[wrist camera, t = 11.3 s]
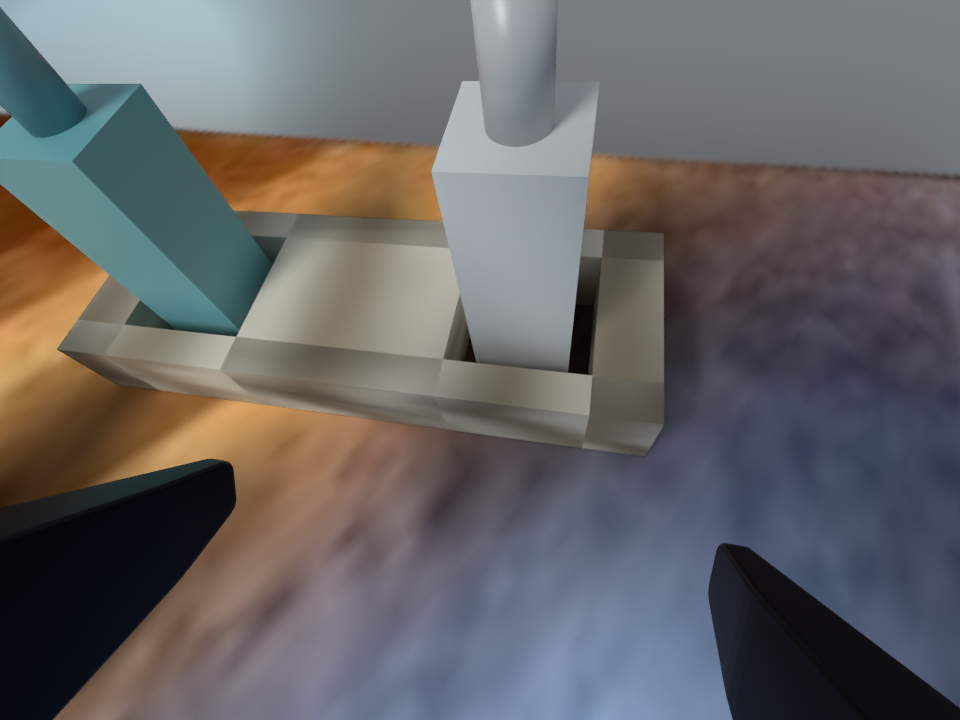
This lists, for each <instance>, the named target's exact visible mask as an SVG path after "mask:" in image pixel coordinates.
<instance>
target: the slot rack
mask: <svg viewBox="0 0 960 720" xmlns="http://www.w3.org/2000/svg"><path fill="white" fill-rule="evenodd" d="M234 213H235V214H236V215H237V217H238V218H239V219H240V221H241V222H242V224H243V225H244V226H245V228H246V229H247V230H248V232H249V233H250V235H251V236H252V237H253V239H254V240H255V241H256V243H257V244H258V246H259V247H260V248H261V250H262V251H263V252H264V254H265V255H266V257H267V258H268V259H269V261H270V262H271V263H272V265H273V266H272V268H271V270H270V271H269V273H268V275H267V277H266V279H265V281H264V283H263V285H262V287H261V289H260V291H259V293H258V295H257V297H256V299H255V301H254V303H253V305H252V307H251V309H250V311H249V313H248V315H247V317H246V319H245V321H244V323H243V325H242V327H241V329H240V331H239V332H238V334H237V336H236V337H233V336H224V335H215V334H206V333H197V332H187V331H178V330H175V329H174V328H173V327H172V326H171V325H169V324H168V323H167V322H166V321H165V320H163V319H162V318H161V317H160V316H159V315H157V314H156V313H155V312H154V311H153V310H151V309H150V308H149V307H148V306H147V305H145V304H144V303H143V302H142V301H141V300H139V299H138V298H137V297H136V296H134V295H133V294H132V293H131V292H130V291H128V290H127V289H126V288H125V287H124V286H122V285H121V284H120V283H119V282H118V281H116V280H115V279H114V278H113V277H112V276H110V275H109V277H108V278H107V280H106V281H105V282H104V284H103V285H102V287H101V288H100V289H99V291H98V292H97V294H96V295H95V296H94V298H93V299H92V301H91V302H90V303H89V305H88V306H87V308H86V309H85V310H84V312H83V313H82V315H81V316H80V317H79V319H78V320H77V322H76V323H75V324H74V326H73V327H72V329H71V330H70V331H69V333H68V334H67V336H66V337H65V338H64V340H63V341H62V343H61V344H60V345H59V347H58V348H57V350H59V351H60V352H62V353H64V354H66V355H67V356H69V357H71V358H72V359H74V360H76V361H78V362H79V363H81V364H83V365H84V366H86V367H88V368H89V369H91V370H93V371H95V372H96V373H98V374H100V375H101V376H103V377H105V378H107V379H108V380H110V381H112V382H113V383H115V384H117V385H125V386H132V387H139V388H147V389H154V390H161V391H169V392H176V393H183V394H190V395H198V396H205V397H212V398H220V399H227V400H234V401H242V402H249V403H256V404H263V405H271V406H278V407H285V408H293V409H300V410H307V411H315V412H322V413H329V414H336V415H344V416H351V417H358V418H366V419H373V420H380V421H387V422H395V423H402V424H409V425H417V426H424V427H431V428H439V429H446V430H453V431H460V432H468V433H475V434H482V435H490V436H497V437H504V438H512V439H519V440H526V441H533V442H541V443H548V444H555V445H563V446H570V447H577V448H585V449H592V450H599V451H606V452H614V453H621V454H628V455H636V456H643V457H645V456H646V454H647V453H648V451H649V449H650V448H651V446H652V444H653V443H654V441H655V439H656V438H657V436H658V434H659V433H660V431H661V429H662V428H663V426H664V233H650V232H631V231H612V230H593V229H584V230H583V240H582V249H581V258H580V267H579V277H578V286H577V295H576V304H580V305H592V306H594V310H593V322H592V334H591V346H590V358H589V369H588V375H583V374H574V373H565V372H556V371H546V370H537V369H528V368H519V367H510V366H500V365H491V364H482V363H473V362H464V361H465V357H466V353H467V348H468V344H469V339H470V334H469V330H468V325H467V321H466V317H465V313H464V308H463V304H462V300H461V296H460V291H459V287H458V283H457V279H456V275H455V270H454V266H453V262H452V258H451V253H450V249H449V245H448V241H447V237H446V232H445V228H444V224H443V222H442V221H423V220H404V219H385V218H366V217H347V216H328V215H309V214H290V213H271V212H252V211H234Z"/></svg>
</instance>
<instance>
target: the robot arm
mask: <svg viewBox="0 0 960 720" xmlns="http://www.w3.org/2000/svg"><path fill="white" fill-rule="evenodd" d="M235 504H236V490H235V480H234V470H233V467H232V465H231V463H229V462H227V461H223V460H217V459H206V460H201V461H197V462H193V463H189V464H185V465H180V466H176V467H172V468H168V469H163V470H159V471H155V472H151V473H146V474H142V475H138V476H134V477H129V478H125V479H121V480H117V481H112V482H108V483H104V484H100V485H95V486H91V487H87V488H83V489H78V490H74V491H70V492H66V493H61V494H57V495H53V496H49V497H44V498H40V499H36V500H32V501H27V502H23V503H19V504H15V505H10V506H6V507H2V508H0V720H53V719H54V718H55V717H56V716H57V715H58V714H59V713H60V711H61V710H62V709H63V708H64V707H65V706H66V705H67V704H68V703H69V702H70V700H71V699H72V698H73V697H74V696H75V695H76V694H77V693H78V692H79V691H80V689H81V688H82V687H83V686H84V685H85V684H86V683H87V682H88V681H89V679H90V678H91V677H92V676H93V675H94V674H95V673H96V672H97V671H98V670H99V668H100V667H101V666H102V665H103V664H104V663H105V662H106V661H107V660H108V659H109V657H110V656H111V655H112V654H113V653H114V652H115V651H116V650H117V649H118V648H119V646H120V645H121V644H122V643H123V642H124V641H125V640H126V639H127V638H128V637H129V635H130V634H131V633H132V632H133V631H134V630H135V629H136V628H137V627H138V625H139V624H140V623H141V622H142V621H143V620H144V619H145V618H146V617H147V616H148V614H149V613H150V612H151V611H152V610H153V609H154V608H155V607H156V606H157V605H158V603H159V602H160V601H161V600H162V599H163V598H164V597H165V596H166V595H167V594H168V592H169V591H170V590H171V589H172V588H173V587H174V586H175V585H176V583H177V582H178V581H179V580H180V579H181V578H182V576H183V575H184V574H185V573H186V571H187V570H188V569H189V568H190V566H191V565H192V564H193V562H194V561H195V560H196V559H197V557H198V556H199V555H200V553H201V552H202V551H203V549H204V548H205V547H206V545H207V544H208V543H209V542H210V540H211V539H212V538H213V536H214V535H215V534H216V532H217V531H218V530H219V528H220V527H221V526H222V525H223V523H224V522H225V521H226V519H227V518H228V517H229V515H230V514H231V513H232V511H233V509H234V507H235ZM708 595H709V604H710V609H711V615H712V620H713V626H714V631H715V637H716V643H717V648H718V654H719V659H720V665H721V670H722V676H723V681H724V686H725V691H726V696H727V700H728V704H729V708H730V711H731V715H732V719H733V720H960V708H959V707H958V706H956V705H955V704H954V703H952V702H951V701H950V700H948V699H947V698H946V697H945V696H943V695H942V694H941V693H939V692H938V691H937V690H935V689H934V688H933V687H931V686H930V685H929V684H927V683H926V682H925V681H923V680H922V679H921V678H920V677H918V676H917V675H916V674H914V673H913V672H912V671H910V670H909V669H908V668H906V667H905V666H904V665H902V664H901V663H900V662H898V661H897V660H896V659H895V658H893V657H892V656H891V655H889V654H888V653H887V652H885V651H884V650H883V649H881V648H880V647H879V646H877V645H876V644H875V643H873V642H872V641H871V640H869V639H868V638H867V637H866V636H864V635H863V634H862V633H860V632H859V631H858V630H856V629H855V628H854V627H852V626H851V625H850V624H848V623H847V622H846V621H844V620H843V619H842V618H841V617H839V616H838V615H837V614H835V613H834V612H833V611H831V610H830V609H829V608H827V607H826V606H825V605H823V604H822V603H821V602H819V601H818V600H817V599H815V598H814V597H813V596H812V595H810V594H809V593H808V592H806V591H805V590H804V589H802V588H801V587H800V586H798V585H797V584H796V583H794V582H793V581H792V580H790V579H789V578H788V577H787V576H785V575H784V574H783V573H781V572H780V571H779V570H777V569H776V568H775V567H773V566H772V565H771V564H769V563H768V562H767V561H765V560H764V559H763V558H762V557H760V556H759V555H758V554H756V553H755V552H754V551H752V550H751V549H750V548H748V547H745V546H739V545H733V544H727V543H722V544H720V545H719V546H718V548H717V551H716V555H715V560H714V564H713V569H712V573H711V578H710V582H709V590H708Z"/></svg>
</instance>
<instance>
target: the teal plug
mask: <svg viewBox="0 0 960 720" xmlns="http://www.w3.org/2000/svg"><path fill="white" fill-rule="evenodd" d="M0 105H1V106H2V107H3V108H4V109H5V110H6V111H7V112H8V113H9V114H10V115H11V116H12V117H11V118H10V119H9V120H8V121H7V122H6V123H5V124H4V125H3V126H2V127H1V128H0V184H1V185H2V186H3V187H4V188H6V189H7V190H8V191H9V192H10V193H12V194H13V195H14V196H15V197H16V198H18V199H19V200H20V201H21V202H23V203H24V204H25V205H26V206H27V207H29V208H30V209H31V210H32V211H33V212H35V213H36V214H37V215H38V216H39V217H41V218H42V219H43V220H44V221H45V222H47V223H48V224H49V225H50V226H51V227H53V228H54V229H55V230H56V231H57V232H59V233H60V234H61V235H62V236H63V237H65V238H66V239H67V240H68V241H69V242H71V243H72V244H73V245H74V246H75V247H77V248H78V249H79V250H80V251H82V252H83V253H84V254H85V255H86V256H88V257H89V258H90V259H91V260H92V261H94V262H95V263H96V264H97V265H98V266H100V267H101V268H102V269H103V270H104V271H106V272H107V273H108V274H109V275H110V276H112V277H113V278H114V279H115V280H116V281H118V282H119V283H120V284H121V285H122V286H124V287H125V288H126V289H127V290H128V291H130V292H131V293H132V294H133V295H134V296H136V297H137V298H138V299H139V300H141V301H142V302H143V303H144V304H145V305H147V306H148V307H149V308H150V309H151V310H153V311H154V312H155V313H156V314H157V315H159V316H160V317H161V318H162V319H163V320H165V321H166V322H167V323H168V324H169V325H171V326H172V327H173V328H174V329H175V330H178V331H187V332H197V333H206V334H215V335H224V336H233V337H236V336H237V334H238V332H239V331H240V329H241V327H242V325H243V323H244V321H245V319H246V317H247V315H248V313H249V311H250V309H251V307H252V305H253V303H254V301H255V299H256V297H257V295H258V293H259V291H260V289H261V287H262V285H263V283H264V281H265V279H266V277H267V275H268V273H269V271H270V270H271V268H272V266H273V265H272V263H271V262H270V261H269V259H268V258H267V257H266V255H265V254H264V252H263V251H262V250H261V248H260V247H259V246H258V244H257V243H256V241H255V240H254V239H253V237H252V236H251V235H250V233H249V232H248V230H247V229H246V228H245V226H244V225H243V224H242V222H241V221H240V219H239V218H238V217H237V215H236V214H235V213H234V211H233V210H232V208H231V207H230V206H229V204H228V203H227V202H226V200H225V199H224V197H223V196H222V195H221V193H220V192H219V191H218V189H217V188H216V186H215V185H214V184H213V182H212V181H211V180H210V178H209V177H208V175H207V174H206V173H205V171H204V170H203V169H202V167H201V166H200V164H199V163H198V162H197V160H196V159H195V158H194V156H193V155H192V153H191V152H190V151H189V149H188V148H187V147H186V145H185V144H184V142H183V141H182V140H181V138H180V137H179V136H178V134H177V133H176V131H175V130H174V129H173V127H172V126H171V125H170V123H169V122H168V121H167V119H166V118H165V116H164V115H163V114H162V112H161V111H160V110H159V108H158V107H157V105H156V104H155V103H154V101H153V100H152V99H151V97H150V96H149V95H148V93H147V92H146V90H145V89H144V88H143V86H142V85H141V84H66V83H65V82H64V81H63V80H62V78H61V77H60V76H59V75H58V74H57V73H56V71H55V70H54V69H53V68H52V67H51V66H50V64H49V63H48V62H47V61H46V60H45V59H44V57H43V56H42V55H41V54H40V53H39V52H38V50H37V49H36V48H35V47H34V46H33V45H32V43H31V42H30V41H29V40H28V39H27V38H26V37H25V36H24V34H23V33H22V32H21V31H20V30H19V28H18V27H17V26H16V25H15V24H14V23H13V22H12V20H11V19H10V18H9V17H8V16H7V15H6V13H4V11H3V10H2V9H1V8H0Z"/></svg>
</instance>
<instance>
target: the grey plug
mask: <svg viewBox="0 0 960 720" xmlns="http://www.w3.org/2000/svg"><path fill="white" fill-rule="evenodd" d="M557 7H558V0H471V10H472V18H473V28H474V36H475V46H476V55H477V64H478V73H479V81H462V84H461V87H460V90H459V93H458V96H457V99H456V102H455V104H454V107H453V110H452V113H451V116H450V119H449V122H448V124H447V127H446V130H445V133H444V136H443V139H442V142H441V145H440V147H439V150H438V153H437V156H436V159H435V162H434V165H433V168H432V170H431V173H432V177H433V182H434V186H435V190H436V194H437V198H438V203H439V207H440V211H441V215H442V220H443V224H444V228H445V232H446V237H447V241H448V245H449V249H450V253H451V258H452V262H453V266H454V270H455V275H456V279H457V283H458V287H459V291H460V296H461V300H462V304H463V308H464V313H465V317H466V321H467V325H468V330H469V334H470V338H471V342H472V346H473V351H474V355H475V359H476V363H482V364H491V365H500V366H510V367H519V368H528V369H537V370H546V371H556V372H565V373H568V368H569V359H570V350H571V341H572V332H573V323H574V314H575V304H576V295H577V286H578V277H579V267H580V258H581V249H582V240H583V230H584V221H585V212H586V203H587V194H588V184H589V175H590V166H591V157H592V147H593V138H594V129H595V120H596V110H597V101H598V92H599V83H600V81H556V45H557V9H558V8H557Z"/></svg>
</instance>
